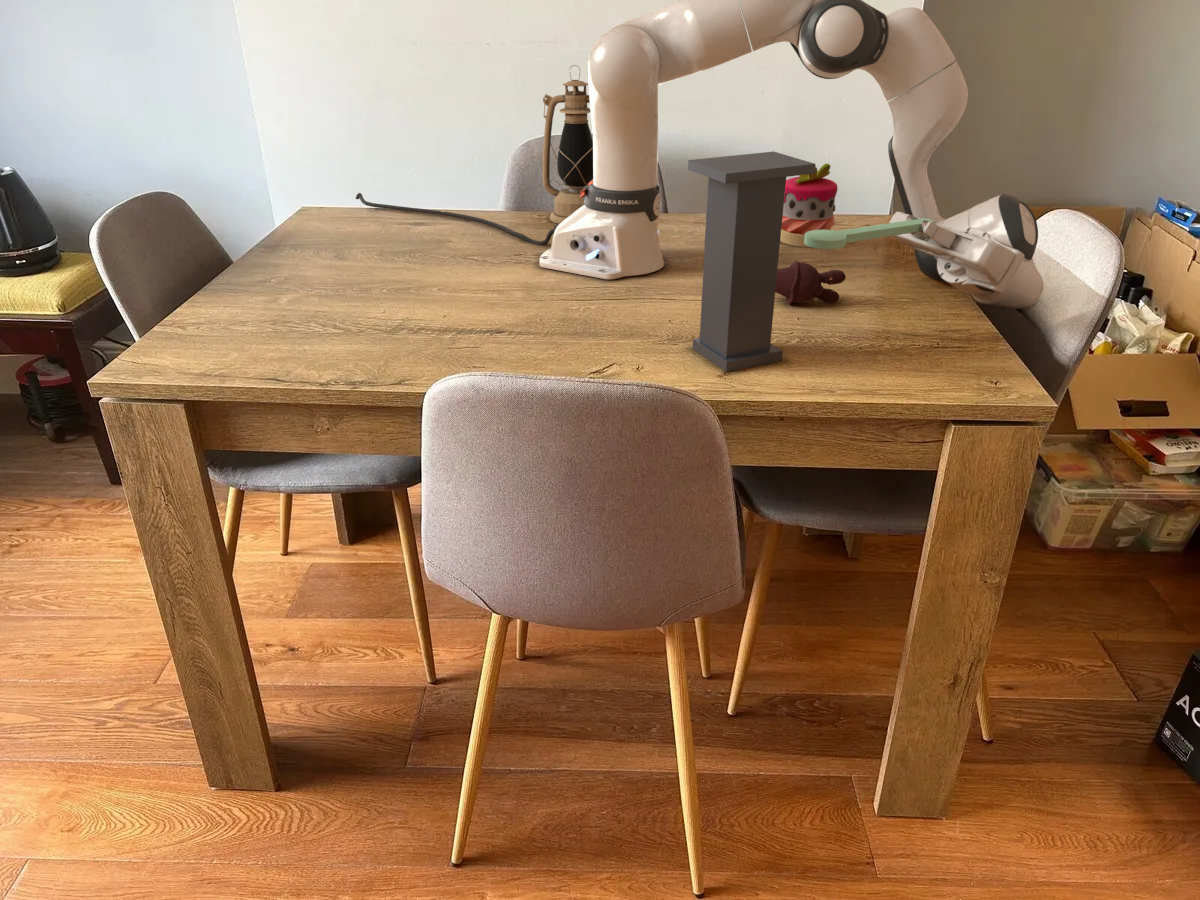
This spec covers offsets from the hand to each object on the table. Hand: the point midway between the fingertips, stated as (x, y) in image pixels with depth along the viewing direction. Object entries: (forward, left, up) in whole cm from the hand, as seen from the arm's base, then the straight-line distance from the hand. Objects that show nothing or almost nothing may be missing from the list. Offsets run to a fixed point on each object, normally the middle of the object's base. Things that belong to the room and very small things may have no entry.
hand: (915, 222), depth 126 cm
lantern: (-68, +42, -15) cm, 81 cm away
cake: (-20, +41, -15) cm, 48 cm away
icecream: (-16, +4, -15) cm, 23 cm away
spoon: (-5, -5, -1) cm, 7 cm away
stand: (-20, -20, -15) cm, 32 cm away
